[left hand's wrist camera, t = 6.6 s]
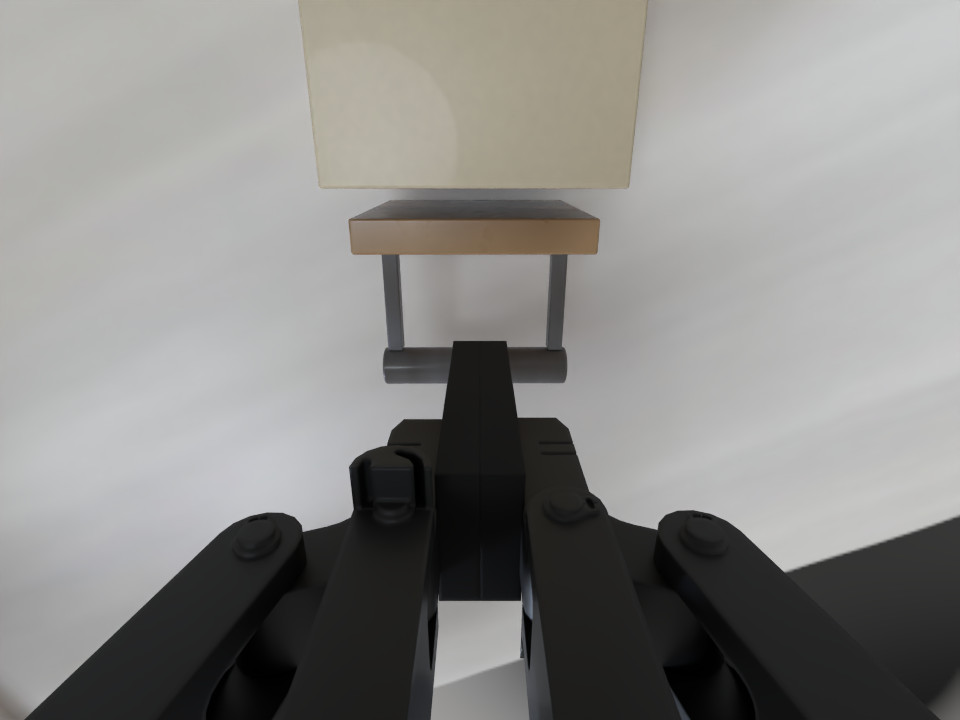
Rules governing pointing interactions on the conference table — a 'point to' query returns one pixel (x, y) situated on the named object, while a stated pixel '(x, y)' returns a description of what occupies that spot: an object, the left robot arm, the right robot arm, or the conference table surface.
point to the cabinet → (473, 92)
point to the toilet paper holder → (473, 234)
